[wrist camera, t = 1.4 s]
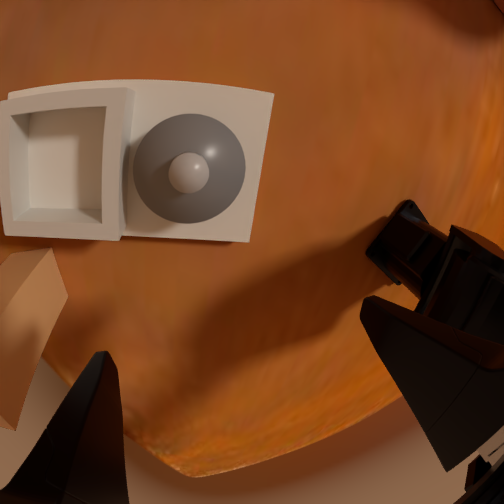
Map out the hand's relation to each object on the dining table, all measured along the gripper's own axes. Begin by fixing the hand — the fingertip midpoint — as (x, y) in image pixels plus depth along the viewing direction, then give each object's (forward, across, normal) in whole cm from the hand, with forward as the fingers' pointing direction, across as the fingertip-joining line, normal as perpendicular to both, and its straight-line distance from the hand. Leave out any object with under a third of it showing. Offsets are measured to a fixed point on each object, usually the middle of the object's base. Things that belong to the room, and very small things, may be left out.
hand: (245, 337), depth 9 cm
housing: (+13, +5, -4) cm, 14 cm away
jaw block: (+13, +14, +3) cm, 20 cm away
